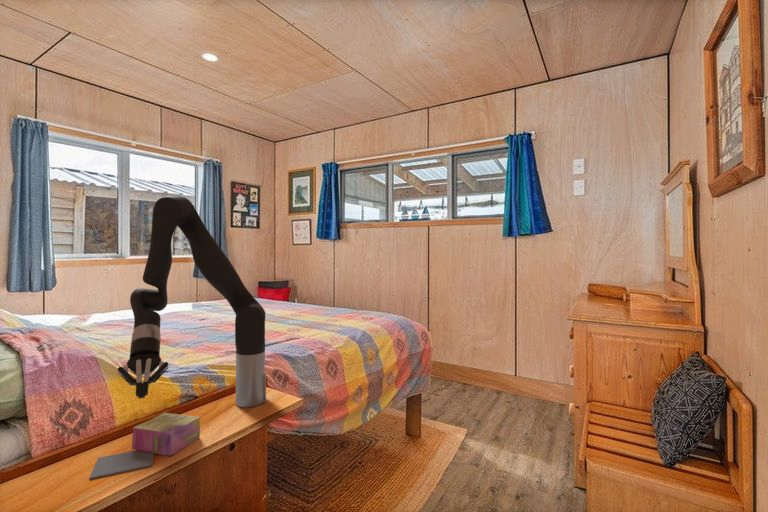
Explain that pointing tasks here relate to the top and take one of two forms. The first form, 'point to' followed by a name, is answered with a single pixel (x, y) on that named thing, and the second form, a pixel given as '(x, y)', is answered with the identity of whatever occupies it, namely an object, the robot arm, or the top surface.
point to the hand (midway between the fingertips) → (141, 397)
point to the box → (166, 433)
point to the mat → (121, 463)
